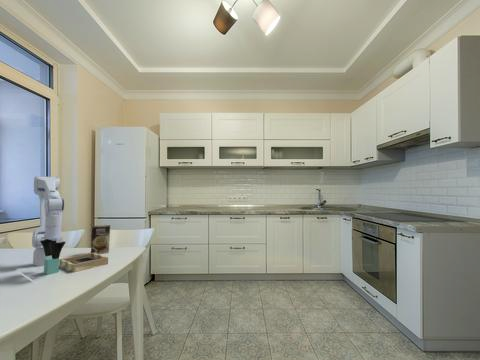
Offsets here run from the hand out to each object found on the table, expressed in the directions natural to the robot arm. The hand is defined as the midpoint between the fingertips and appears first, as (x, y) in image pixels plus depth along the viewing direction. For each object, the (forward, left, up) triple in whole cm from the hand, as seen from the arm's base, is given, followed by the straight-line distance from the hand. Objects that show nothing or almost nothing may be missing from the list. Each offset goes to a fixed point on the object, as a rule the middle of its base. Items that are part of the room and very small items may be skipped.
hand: (51, 257), depth 103 cm
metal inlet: (0, +13, -7) cm, 15 cm away
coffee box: (-18, +29, -8) cm, 35 cm away
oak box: (0, +13, -8) cm, 15 cm away
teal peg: (0, 0, -8) cm, 8 cm away
